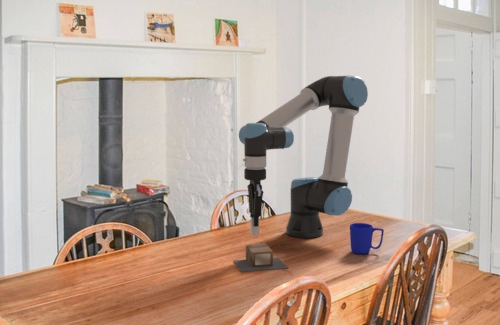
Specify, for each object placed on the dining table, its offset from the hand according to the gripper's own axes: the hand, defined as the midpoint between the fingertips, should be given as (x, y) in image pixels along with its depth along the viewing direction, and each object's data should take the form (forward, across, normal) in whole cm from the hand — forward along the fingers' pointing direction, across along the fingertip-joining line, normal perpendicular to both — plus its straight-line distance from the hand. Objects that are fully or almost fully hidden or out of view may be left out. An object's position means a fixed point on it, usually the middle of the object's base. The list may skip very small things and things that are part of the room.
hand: (254, 234), depth 201 cm
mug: (+9, +3, +41) cm, 42 cm away
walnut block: (+6, +1, 0) cm, 6 cm away
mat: (+8, +8, 0) cm, 12 cm away
